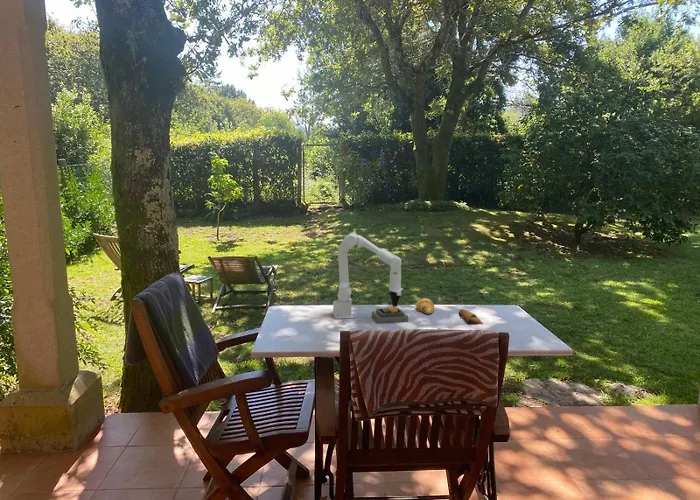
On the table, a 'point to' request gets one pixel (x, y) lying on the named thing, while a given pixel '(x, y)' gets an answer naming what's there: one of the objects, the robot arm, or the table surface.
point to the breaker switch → (390, 310)
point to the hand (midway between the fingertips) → (394, 306)
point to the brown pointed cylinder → (470, 317)
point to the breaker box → (389, 316)
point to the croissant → (425, 305)
